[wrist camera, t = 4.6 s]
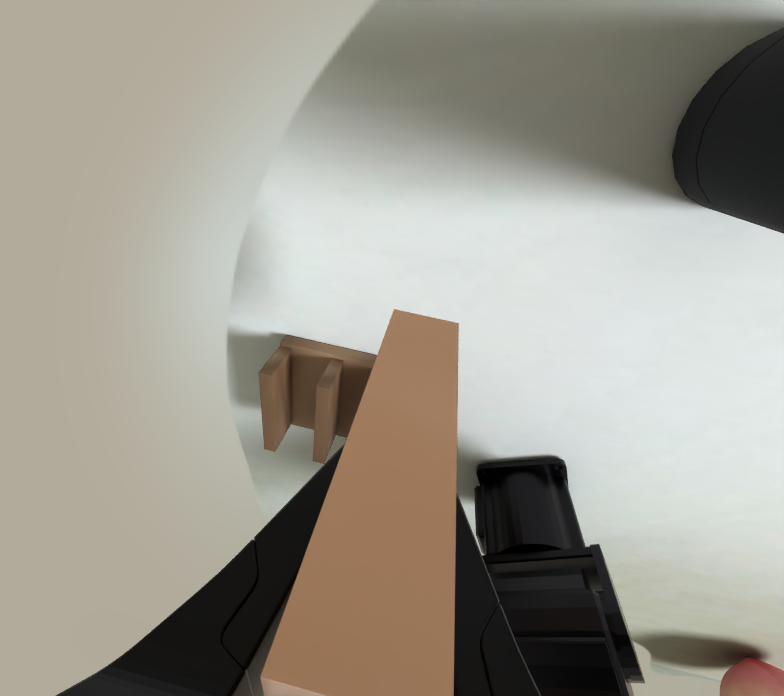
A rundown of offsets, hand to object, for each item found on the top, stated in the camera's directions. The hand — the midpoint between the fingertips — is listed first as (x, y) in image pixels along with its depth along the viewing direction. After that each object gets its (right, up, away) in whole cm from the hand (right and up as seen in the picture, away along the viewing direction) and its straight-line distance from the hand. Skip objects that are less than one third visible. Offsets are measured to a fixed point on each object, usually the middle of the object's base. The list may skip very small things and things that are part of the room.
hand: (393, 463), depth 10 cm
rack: (-2, 0, +16) cm, 16 cm away
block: (+1, +2, +3) cm, 3 cm away
